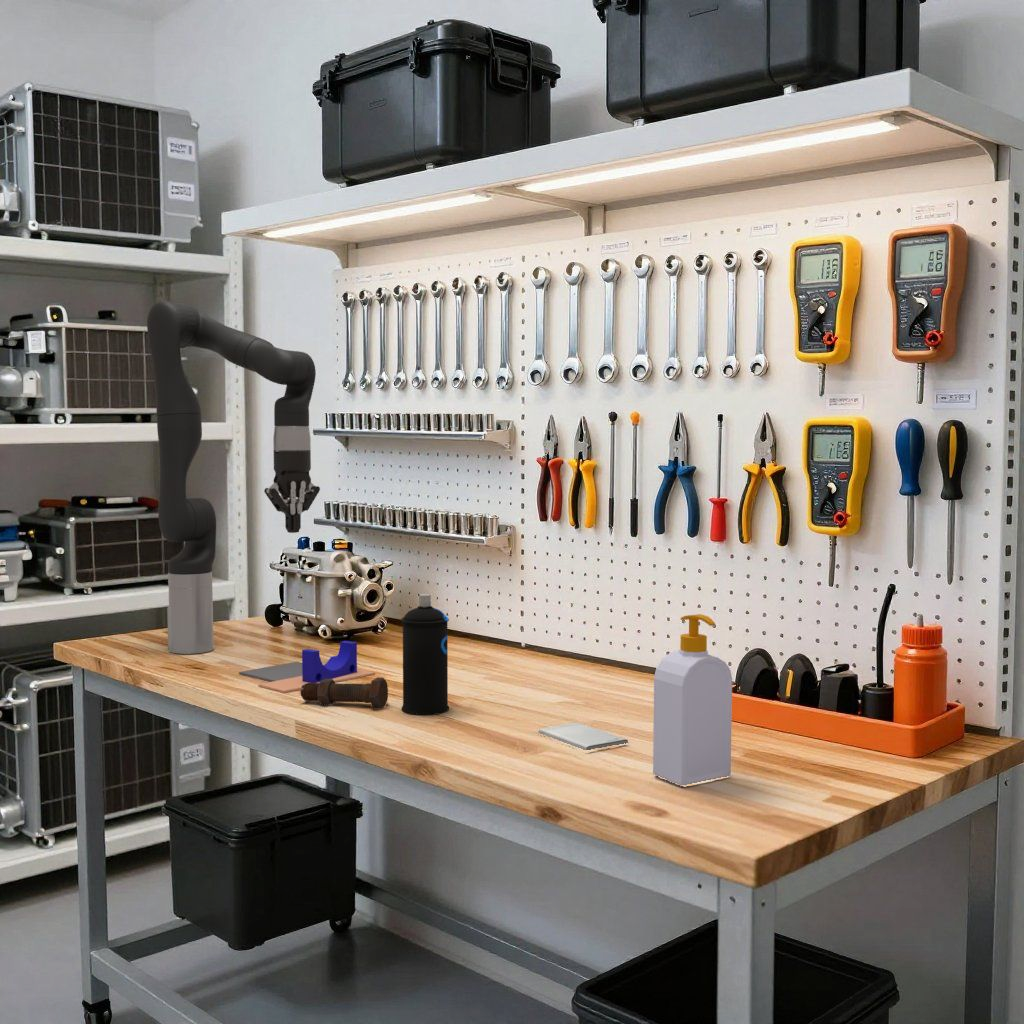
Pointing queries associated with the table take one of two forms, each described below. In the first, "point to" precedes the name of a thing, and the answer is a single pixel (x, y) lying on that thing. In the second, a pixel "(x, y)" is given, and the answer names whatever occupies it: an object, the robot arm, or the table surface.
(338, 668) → the blue cradle block
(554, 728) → the hard drive
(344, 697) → the bolt
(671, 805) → the table surface
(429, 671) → the aerosol can
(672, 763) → the soap bottle
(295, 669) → the t mat
